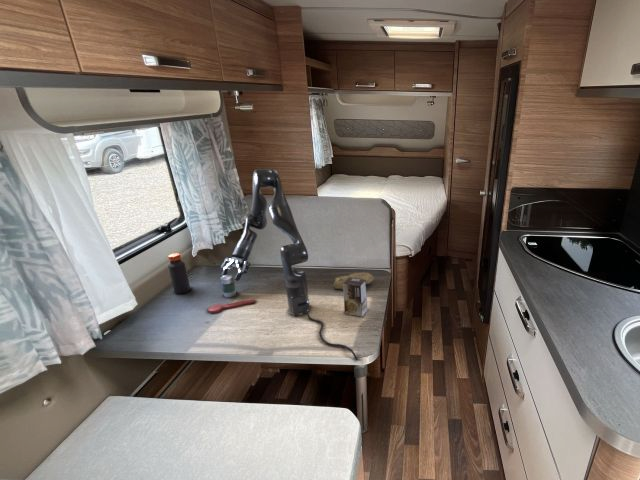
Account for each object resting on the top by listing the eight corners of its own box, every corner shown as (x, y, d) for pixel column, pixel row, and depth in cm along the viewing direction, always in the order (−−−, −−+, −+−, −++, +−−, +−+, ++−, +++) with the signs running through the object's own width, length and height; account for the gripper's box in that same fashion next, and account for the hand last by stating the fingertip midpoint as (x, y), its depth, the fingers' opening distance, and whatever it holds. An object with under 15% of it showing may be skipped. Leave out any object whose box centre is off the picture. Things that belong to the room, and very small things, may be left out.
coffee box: (367, 309, 159) (366, 279, 154) (362, 317, 153) (361, 286, 148) (350, 306, 162) (348, 276, 156) (344, 313, 156) (342, 283, 150)
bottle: (175, 295, 168) (166, 259, 161) (173, 290, 172) (164, 254, 166) (191, 291, 172) (183, 255, 165) (189, 285, 177) (181, 251, 170)
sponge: (335, 294, 173) (372, 287, 173) (331, 280, 172) (369, 273, 172) (340, 286, 186) (375, 279, 186) (337, 273, 185) (372, 266, 185)
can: (238, 292, 171) (235, 275, 168) (230, 298, 166) (226, 280, 163) (230, 291, 173) (226, 273, 169) (221, 296, 168) (217, 278, 164)
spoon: (254, 304, 161) (254, 302, 161) (207, 314, 153) (207, 312, 153) (254, 298, 166) (253, 296, 166) (208, 307, 158) (208, 305, 158)
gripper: (227, 244, 173) (212, 274, 166) (249, 248, 169) (235, 279, 162) (236, 250, 179) (223, 279, 173) (258, 254, 175) (245, 283, 169)
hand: (229, 279), depth 168 cm, fingers open, 8 cm apart
